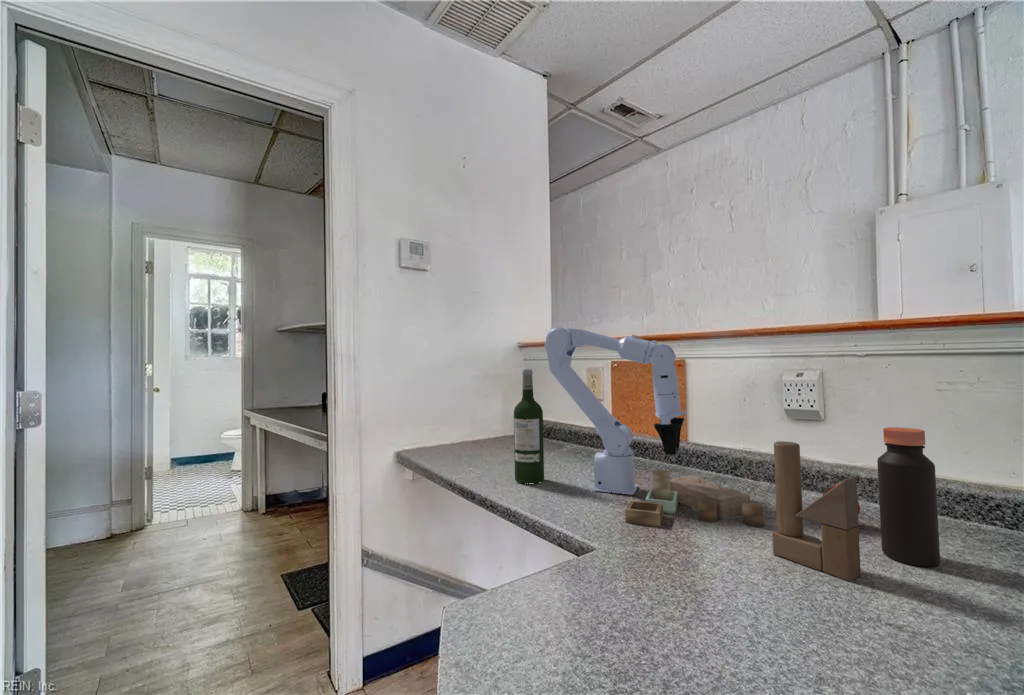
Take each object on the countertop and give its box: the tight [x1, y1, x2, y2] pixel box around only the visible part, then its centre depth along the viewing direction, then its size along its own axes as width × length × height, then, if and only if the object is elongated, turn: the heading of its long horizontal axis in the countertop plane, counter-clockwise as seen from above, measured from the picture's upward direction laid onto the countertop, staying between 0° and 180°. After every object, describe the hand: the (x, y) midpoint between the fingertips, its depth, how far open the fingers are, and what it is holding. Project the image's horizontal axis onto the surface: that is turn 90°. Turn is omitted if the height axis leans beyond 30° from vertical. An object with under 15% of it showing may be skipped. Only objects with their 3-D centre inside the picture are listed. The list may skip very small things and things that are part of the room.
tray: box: [644, 488, 679, 515], centre depth 95 cm, size 6×8×2 cm
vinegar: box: [876, 426, 941, 568], centre depth 69 cm, size 7×7×20 cm
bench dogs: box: [697, 498, 765, 528], centre depth 86 cm, size 12×4×4 cm, turn 66°
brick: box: [670, 475, 751, 520], centre depth 96 cm, size 16×8×5 cm, turn 21°
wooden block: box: [771, 440, 862, 582], centre depth 68 cm, size 4×11×18 cm, turn 31°
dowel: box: [651, 469, 671, 501], centre depth 95 cm, size 4×4×7 cm
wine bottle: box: [513, 368, 545, 485], centre depth 119 cm, size 8×8×30 cm
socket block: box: [624, 499, 664, 528], centre depth 88 cm, size 6×6×2 cm
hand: (672, 451), depth 105 cm, fingers open, 7 cm apart
